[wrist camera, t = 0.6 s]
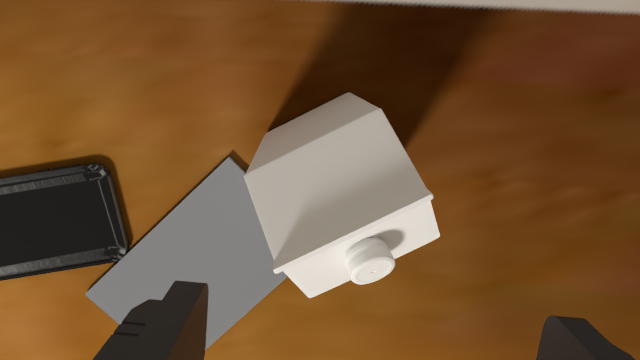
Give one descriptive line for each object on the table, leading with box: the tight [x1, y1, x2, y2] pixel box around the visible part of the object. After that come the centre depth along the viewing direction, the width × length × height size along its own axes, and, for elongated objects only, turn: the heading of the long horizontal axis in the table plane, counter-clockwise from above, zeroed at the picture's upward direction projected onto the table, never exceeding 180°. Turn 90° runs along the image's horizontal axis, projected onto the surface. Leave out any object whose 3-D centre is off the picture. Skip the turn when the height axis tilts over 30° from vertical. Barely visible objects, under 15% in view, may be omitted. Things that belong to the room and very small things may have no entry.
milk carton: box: [244, 92, 440, 298], centre depth 30 cm, size 7×7×19 cm
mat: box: [85, 156, 288, 350], centre depth 40 cm, size 16×10×1 cm, turn 133°
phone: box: [0, 163, 129, 281], centre depth 39 cm, size 8×1×15 cm
